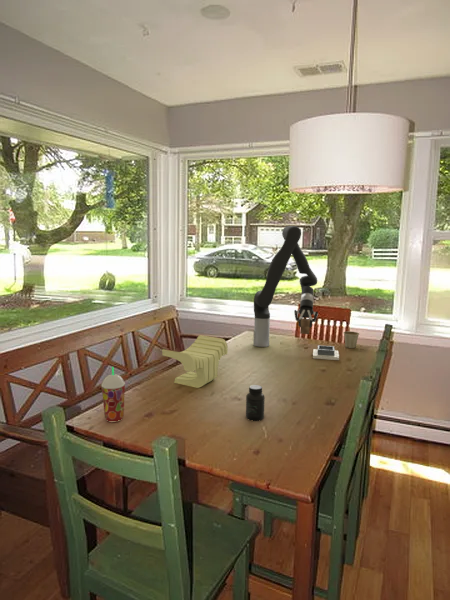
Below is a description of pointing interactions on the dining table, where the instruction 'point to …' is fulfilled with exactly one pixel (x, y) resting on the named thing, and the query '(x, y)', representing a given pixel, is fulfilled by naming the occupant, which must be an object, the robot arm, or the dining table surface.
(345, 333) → the flower pot
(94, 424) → the dining table surface
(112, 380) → the smoothie
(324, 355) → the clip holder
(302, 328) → the walnut block
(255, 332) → the robot arm
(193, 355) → the slatted curved stool
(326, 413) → the dining table surface
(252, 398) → the supplement bottle
